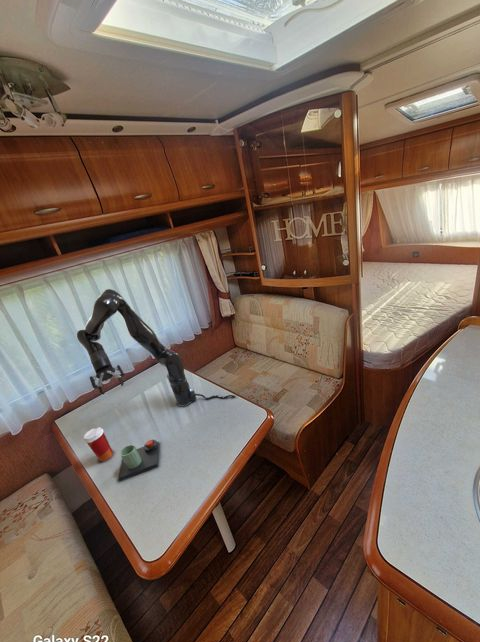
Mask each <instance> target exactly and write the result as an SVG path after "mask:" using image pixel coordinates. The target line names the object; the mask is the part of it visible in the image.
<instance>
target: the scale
mask: <svg viewBox="0 0 480 642" xmlns="http://www.w3.org/2000/svg"><path fill="white" fill-rule="evenodd" d="M151 440H152V441H153V443H154V444H153V446H152V447H149V448H148V447H147V446H146V443H145V444H144V445H143V446H141V447H139V448H136V449H137V451H138V453H139V455H140V457H141V459H142V461H141V463H140V464H139V465H138V466H137V467H136V468H133V469H128V468H127V466H126V464H125V462H124V461H123V459H122V458H121V464H120V468H119V469H120V470H119V474H118V477H117V479H118V481H119V482H120V481H123V480H126V479H129V478H130V477H131V478H132V477H134V476H136V475H140V474H142V473H144V472H147V471H150V470H153V469H156V468H158V467H159V456H160V442H159V441H157V440H156V439H151Z"/></svg>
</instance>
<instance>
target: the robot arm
mask: <svg viewBox="0 0 480 642" xmlns="http://www.w3.org/2000/svg"><path fill="white" fill-rule="evenodd" d="M117 312H118V313H119V315H120V316H121V317H122V319H123V321H124V324H125V327H126V330H127V332H128V334H129V336H130V337H131V338H132V339H133V340H134V341H135V342H136V343H137V344H139V345H140V346H141V347H142V348H144V349H145V350H146V351H148V352H149V353H150V354H151V355H152V356H153V357H154V359H155V360H156V361H157V363H159V364H160V366H162V367H164V368H166V370H167V374H166V378H167V381H168V384H169V385H170V388H171V390H172V393H173V395H174V399H175V401H176V404H177V406H179V407H186V406H188V405H190V404H191V403H193V402H194V400H196V399H197V397H201V398H203V399H204V398H206V399H205V400H211V399H214V398H219V399H228V398H233V399H234V398H236V395H233V394H228V395H225V396H221V397H218V396H219V395H216V396H215V395H212V396H210V397H206V395H204V394H202V393H201V394H200V393H196V392H195V390H192V389H191V386H190V383H189V382H188V379H187V376H186V374H185V368H184V367H185V366H184V364H183V360H182V357H181V356H180V354H179V353H178V352H176V351H173V350H170V349H168V348H167V347H166V346H164V344H162V343H161V341H160V340H159V338H158V336H157V335H156V332H155V331H154V330H153V329H152V328H151V327H150V326H149V325H148V324H147V323H146V322H145V321H144V320H143V319H142V318H141V317H140V316H139V314H137V313H136V312H135V311H134V310H133V308H132V307H131V306H130V304H129V303H128V302H127V301H126V299H125V298H124V297H123V296H122V295H121V294H120V293H119V292H117V291H116V290H114V289H111V288H107V289H104V291H102V293H101V294H100V295H99V296H98V297H97V298H96V300H95V301H94V304H93V308H92V313H91V316H90V317H89V319H88V321H87V322H86V324H85V326H84V328H81V329H78V331H77V332H76V333H75V334H76V335H75V336H76V339H77V341H78V342H79V344H81V346H82V347H83V348H84V349H85V350H86V352H87V354H88V356H89V359H90V360H89V361H90V363H91V365H92V368H93V370H94V371H95V375H93V376H92V375H91V376H89V380H90V383H91V387H92V388H93V389H94V390H96V389H97V390H98V391H99V394H102V395H105V391H104V388H103V387H102V386H103V384H104V382H106V381H109V380H111V379H113V378H115V379H117V380H118V381H119V384H120V385H121V387H123V386H124V384H125V382H124V380H123V378H124V377H125V376H126V375H125V372H124V371H123V369H122V367H121V366H120V365H119V364H117V365H116V366H115V367H113V365H112V362H111V361H110V358H109V356H108V354H107V353H106V350H105V349H104V348H105V347H104V346H103V344H102V343H101V342H98V341H99V340H101V338H102V330H103V329H104V327H105V326H106V322H107V321H108V320H109V319H110V318H111V317H112V316H114V315H115V314H116V313H117ZM116 371H117V372H119V373H120V374H118V373H116ZM97 379H98V382H97V384H96V380H97ZM230 396H231V397H230ZM223 397H224V398H223Z"/></svg>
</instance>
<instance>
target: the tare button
mask: <svg viewBox="0 0 480 642" xmlns="http://www.w3.org/2000/svg"><path fill="white" fill-rule="evenodd" d="M152 440H153V439H149V440H147V441H146V442H145V444H146V446H147V447H148V448H149V447H152V446H153V444H154V443H153V441H152Z"/></svg>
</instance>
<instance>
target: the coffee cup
mask: <svg viewBox="0 0 480 642" xmlns="http://www.w3.org/2000/svg"><path fill="white" fill-rule="evenodd" d="M83 441H84V442H85V443H86V444H87V445H88V447H89V448H90V449H91V452H92V453H94V455H95V457H97V459H98V460H99V462H106V461H108V460H110V459H111V458H112V457H113V456H114V451H113V450H112V447H111V445H110V443H109V441H108V438H107V436H106V434H105V430H104V428H101V427H99V426H98V427H95V428H91V429H90V430H88V431H87V432H86V433H85V434H84V436H83Z"/></svg>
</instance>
